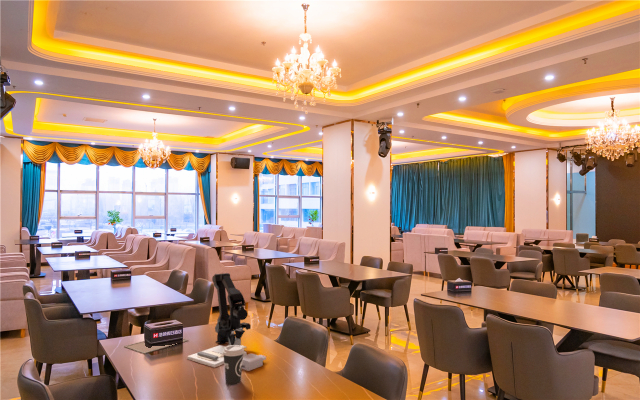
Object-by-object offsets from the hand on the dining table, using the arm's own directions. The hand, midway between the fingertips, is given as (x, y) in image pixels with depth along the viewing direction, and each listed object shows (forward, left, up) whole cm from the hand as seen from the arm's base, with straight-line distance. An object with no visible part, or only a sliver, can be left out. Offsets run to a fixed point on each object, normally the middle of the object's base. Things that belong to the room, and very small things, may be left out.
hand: (234, 345), depth 232 cm
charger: (+9, +23, -4) cm, 25 cm away
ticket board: (+12, 0, -3) cm, 13 cm away
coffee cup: (+30, +30, -3) cm, 43 cm away
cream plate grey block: (0, 0, -1) cm, 1 cm away
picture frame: (+17, -44, -4) cm, 47 cm away
